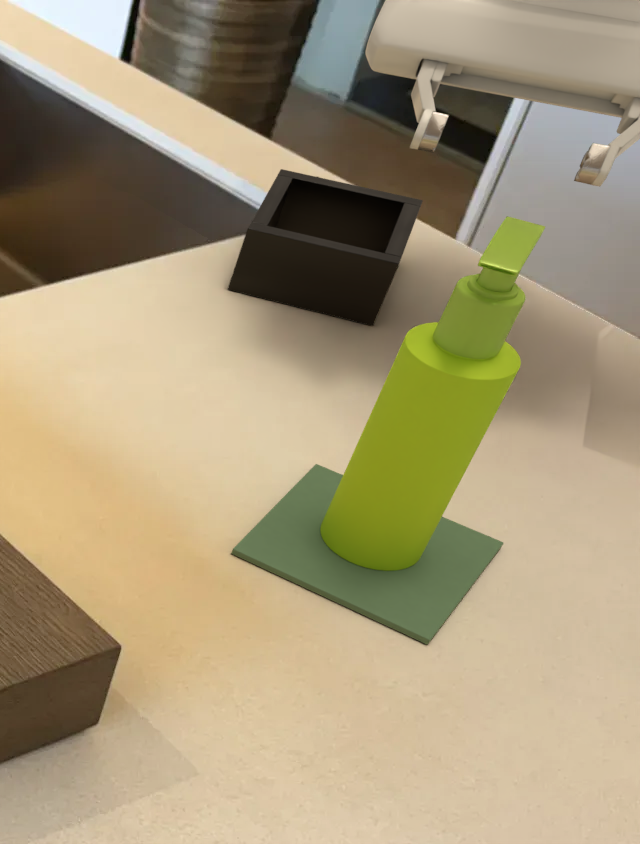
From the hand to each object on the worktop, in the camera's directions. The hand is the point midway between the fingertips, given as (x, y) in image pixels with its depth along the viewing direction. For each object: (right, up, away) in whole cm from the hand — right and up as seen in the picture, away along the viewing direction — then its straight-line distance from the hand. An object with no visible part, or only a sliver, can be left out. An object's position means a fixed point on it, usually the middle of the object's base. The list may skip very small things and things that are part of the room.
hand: (504, 163), depth 83 cm
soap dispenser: (-8, -23, 0) cm, 25 cm away
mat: (-8, -24, 0) cm, 25 cm away
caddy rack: (0, +1, +24) cm, 24 cm away
